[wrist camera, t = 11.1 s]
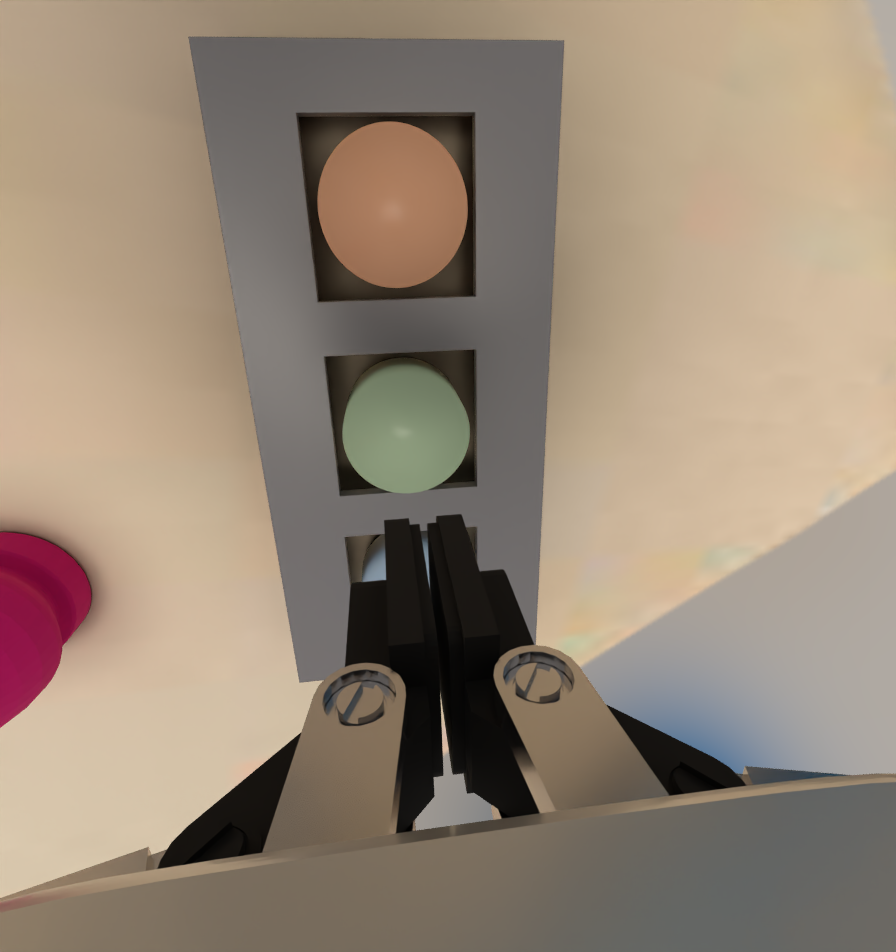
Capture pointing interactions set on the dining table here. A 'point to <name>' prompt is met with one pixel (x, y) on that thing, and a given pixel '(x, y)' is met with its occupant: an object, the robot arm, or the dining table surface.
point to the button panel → (386, 320)
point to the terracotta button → (392, 204)
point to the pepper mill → (35, 616)
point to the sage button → (405, 426)
